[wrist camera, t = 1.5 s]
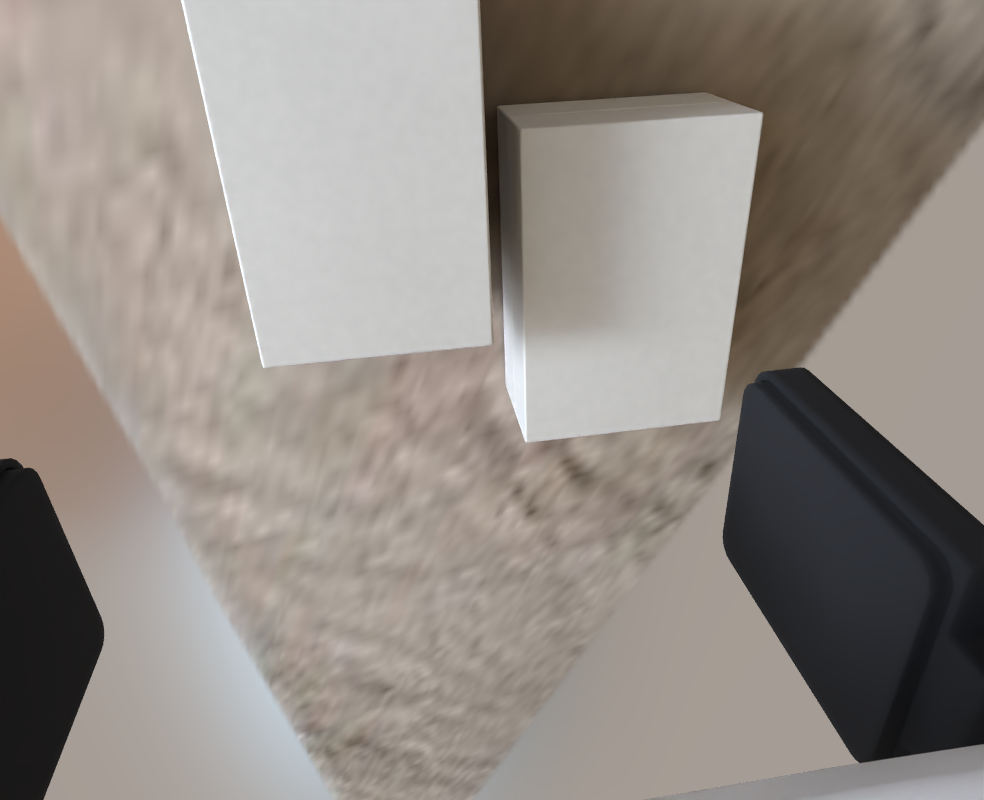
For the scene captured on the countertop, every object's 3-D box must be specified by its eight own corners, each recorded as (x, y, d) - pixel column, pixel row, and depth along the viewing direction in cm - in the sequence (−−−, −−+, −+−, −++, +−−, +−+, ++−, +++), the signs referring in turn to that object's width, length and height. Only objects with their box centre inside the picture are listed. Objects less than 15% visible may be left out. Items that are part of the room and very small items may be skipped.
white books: (496, 105, 25) (519, 129, 21) (706, 91, 26) (764, 112, 22) (505, 385, 31) (525, 443, 27) (678, 367, 32) (720, 420, 28)
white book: (185, -63, 18) (165, -67, 16) (466, -74, 19) (477, -79, 17) (270, 338, 24) (262, 369, 22) (484, 317, 25) (494, 345, 23)
